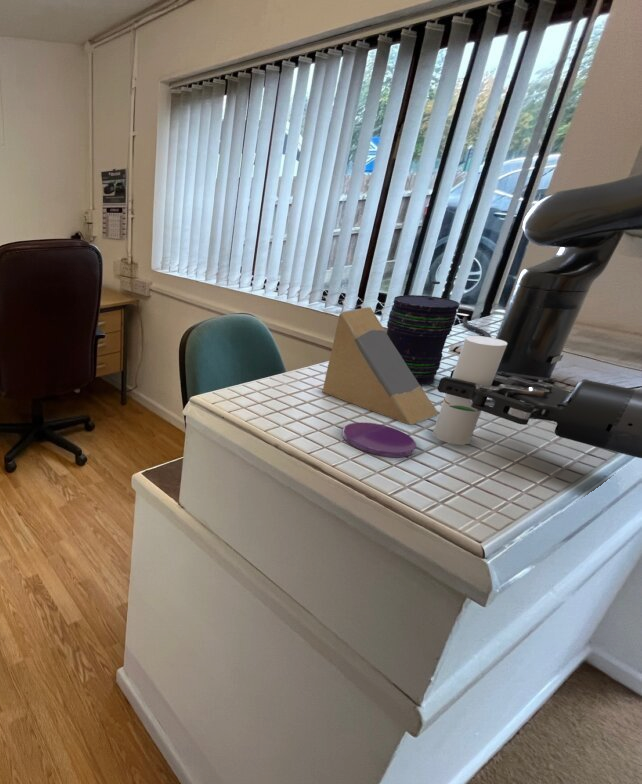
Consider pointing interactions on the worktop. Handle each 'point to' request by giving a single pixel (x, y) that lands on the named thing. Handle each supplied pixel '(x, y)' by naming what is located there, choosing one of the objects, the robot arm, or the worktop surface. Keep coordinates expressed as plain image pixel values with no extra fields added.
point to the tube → (472, 366)
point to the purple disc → (379, 439)
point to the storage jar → (421, 332)
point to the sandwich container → (373, 371)
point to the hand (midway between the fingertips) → (446, 379)
